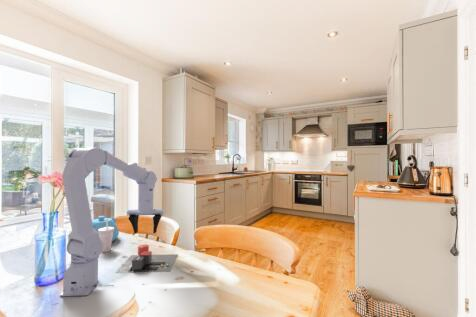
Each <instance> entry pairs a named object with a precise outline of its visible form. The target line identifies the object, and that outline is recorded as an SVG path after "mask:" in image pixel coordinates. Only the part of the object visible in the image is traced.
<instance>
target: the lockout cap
mask: <svg viewBox="0 0 476 317" xmlns="http://www.w3.org/2000/svg"><path fill="white" fill-rule="evenodd" d="M149 248H150V247H149V244H141V245H138V246H137V255H138V257H140V255H141V253H142V252H144V251H150V249H149Z"/></svg>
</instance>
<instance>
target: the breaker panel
mask: <svg viewBox="0 0 476 317" xmlns="http://www.w3.org/2000/svg"><path fill="white" fill-rule="evenodd" d="M178 256H179V254H178V253H177V254H176V253H175V254H172V253H171V254H152V261H151V262H150V263H149V264H144V266H143V268H142V269H135V270H132V260H133V259H134V258H135V257H138V254H131V255H130V256H129V257H128V258H127V259H126V260H125V261H124V262H123V264H122V265H121V266H120V267H119V268H118V269H117V270H116V271H114V274H125V273H127V274H131V273H169V272H170V273H171V271H172V270H173V268H174V264H175V263H176V260H177V259H178Z"/></svg>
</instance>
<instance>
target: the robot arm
mask: <svg viewBox="0 0 476 317" xmlns="http://www.w3.org/2000/svg"><path fill="white" fill-rule="evenodd" d="M66 160H67V161H66V163H65V166H64V169H63V172H62V176H61V177H62V178H61V179H62V184H63V189H64V194H65V199H66V205H67V211H68V217H69V221H70V226H71V231H70V233H69V234H67V240H68V241H67V244H66V251H67V253H68V254H69V255H70V264H69V266H68V267H67V269H65V271H64V273H63V279H62V280H63V284H62V286H63V287H62V292H61V293H60V294H59V296H60V297H78V296H79V297H81V296H82V297H83V296H88V295H89V294H91V292H93V291H94V290H95V289H96V288H97V287H98V284H97V282H98V279H99V258H100V255H101V254H102V253H103V252H102V251H103V247H104V245H103V242H102V240H101V239H100V238H99V234H98V232H97V231H96V230H95V229H94V228H93V225H92V220H93V219H92V215H91V208H90V202H89V195H88V190H87V185H86V184H87V183H86V179H87V178H88V177H89V176H90V174H92V173H93V172H94V171H96V170H98V169H99V168H101V167H103V166H104V165H105V166H108V167H111V168H112V169H116V170H118V171H120V172H122V174H123V176H124V177H126V178H128V179H131V180H132V181H135V182H136V184H137V185H138V206H137V207H138V209H128V210H127V211H126V216H127V217H128V220H129V222H130V224H131V227H132V229H133V233H134V234H136V235H137V233H138V232H139V218H140V216H152V220H153V222H152V223H153V229H152V230H153V232H152V233H153V234H156V233H157V230H158V227H159V224H160V220H161V219H162V216H164V215H165V209H156V208H155V209H154V189H155V187H156V183H157V181H158V177H157V175H156V173H155V172H154V171H152V170H147V168H145V167H142V166H139V163H137V162H129V163H127V162H125V161H123V160H122V159H120V158H118V157H117V156H115V155H113V154H111V153H110V152H108V150H103V149H102V148H100V147H86V148H85V147H84V148H83V147H78V148H77V147H76V148H74V149H73V150H71V152H70V153H68V155H66Z"/></svg>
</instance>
